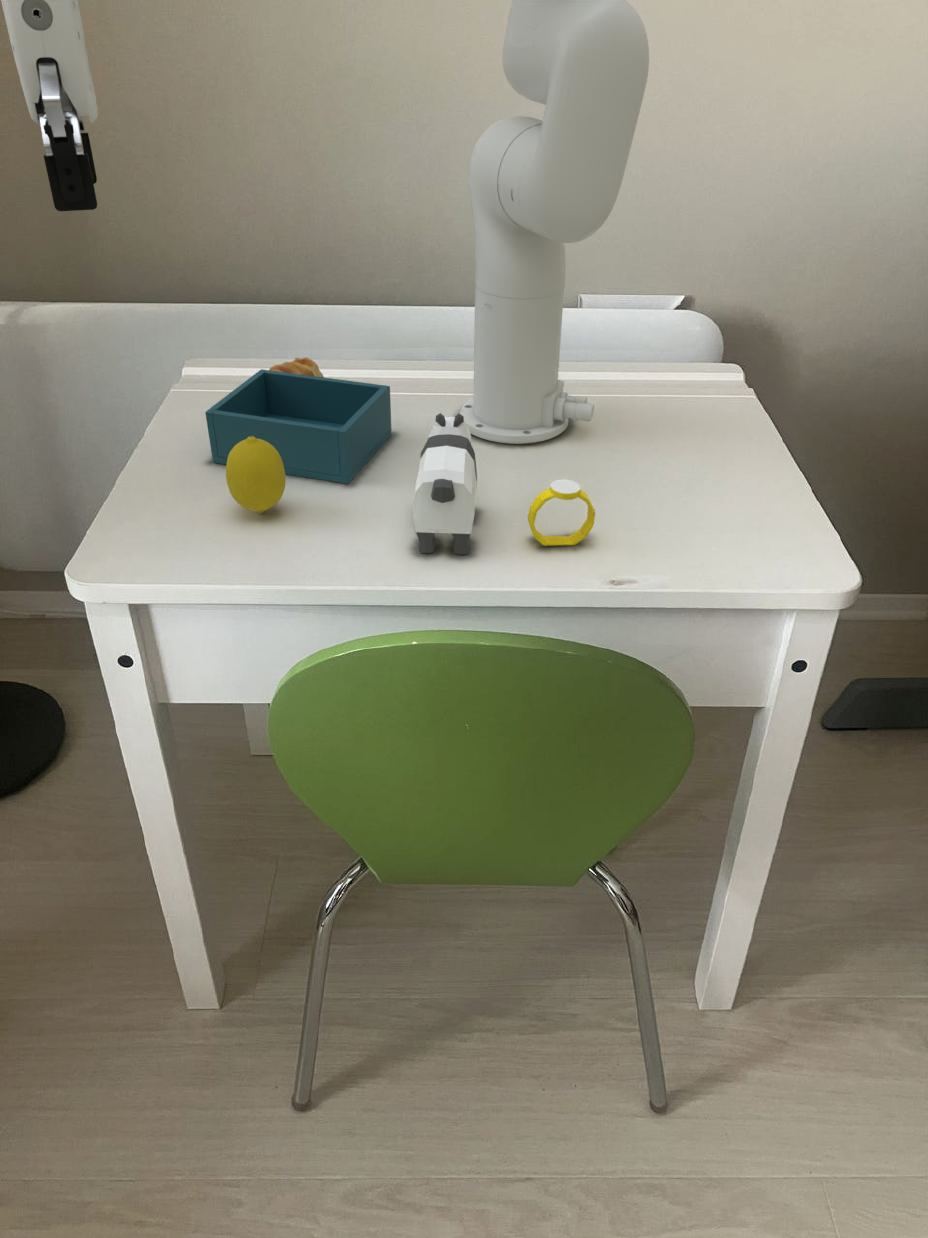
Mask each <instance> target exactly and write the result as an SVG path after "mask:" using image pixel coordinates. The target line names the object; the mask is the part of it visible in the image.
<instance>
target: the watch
mask: <svg viewBox="0 0 928 1238" xmlns="http://www.w3.org/2000/svg"><path fill="white" fill-rule="evenodd" d="M554 498H555V499H559V500H561V501H562V500H563V501H571V500H575V499H578V498H579V499H580V500H581V501H583V502H585V504H586V505H587V514H586V519H585V520H584V523H582V525H581V527H580V528H579V529H578V530H576V531H574V532H573V533H572V534H570V535H543V534H542V533H540V532H539V531H538V530H537V529H536V526H535V522H536V518H537V514H538V512H539V511H540V509H541V508H542V507H543V506H544V505H545V503H546V502H548V501H550V500H552V499H554ZM530 504H531V505H530V506H529V509H528V514H527V521H528V525H529V527H530V530H531V531H530V532H531V533H532V536H533V537H534V539H535V540H536V541H538V542H539V543H540V544H541V545H542V546H544V547H547V546H550V547H551V546H554V547H555V546H576V545H578V543H580V542H582V541H583V540H585V539H586V538H587V537H588V536H589V534H590V532H591V531H592V529H593V528H594V525H595V520H596V509H595V508H594V506H593V504H592V502H591V499H590V498H589V496H588V494H587V493H586V492H585V491H583V490H582V488H581V485H580V484H579V483H577V482H576V481H574V480H572V479H571V480H570V479H565V478H564V479H563V478H562V479H556V480H553V481H552V482H550V484H549V488H546V489H544V490H543V491H541V492H540V493H539V494H538V495H537V496H536V497H535V498H534V500H533V501H532V502H531V503H530Z"/></svg>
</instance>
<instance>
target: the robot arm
mask: <svg viewBox="0 0 928 1238" xmlns="http://www.w3.org/2000/svg"><path fill="white" fill-rule="evenodd" d="M0 3H1V6H2V7H1V8H2V11H3V15H4V20H5V24H6V28H7V33H8V38H9V42H10V46H11V51H12V54H13V58H14V63H15V66H16V70H17V74H18V78H19V81H20V85H21V88H22V89H21V90H22V92H23V95H24V96H23V97H24V98H25V103H26V106H27V110H28V113H29V116H30V119H31V120H32V121H33V122H34V123H36V124H38V125H40V131H41V137H42V143H43V149H44V152H45V154H43V159H44V160H43V161H44V164H45V169H46V174H47V178H48V183H49V187H50V192H51V197H52V201H53V205H54V206H53V207H54V209H55V210H56V211H58V212H75V211H90V210H91V211H93V210H96V209H97V208H98V200H97V194H96V190H95V184H97V181H98V176H97V172H96V168H95V167H96V166H95V162H94V155H93V151H92V145H91V141H90V135H89V132H86V129H85V123H84V118H83V117H87V118H88V122H89V124H94V123H95V121H97V119H98V117H99V110H98V102H97V96H96V92H95V85H94V82H93V81H94V80H93V75H92V69H91V65H90V64H91V63H90V58H89V53H88V48H87V41H86V36H85V31H84V25H83V21H82V17H81V16H82V15H81V12H80V6H79V1H78V0H0ZM502 67H503V72H504V76H505V78H506V81H507V82H508V84H509V86H510V87H511V88H512V89H513V90H514V91H515V92H516V93H517V94H518V95H520V96H522V97H523V98H525V99H527V100H529V101H532V102H535V103H537V104H541V105H544V106H545V107H544V113H543V118H542V119H538V118H535V117H531V116H525V115H524V116H523V115H519V116H518V115H517V116H509V117H506V118H502V119H500V120H498V121H496V122H494V123H493V124H491V125H490V126H489V127H487V129H486V130H485V131H484V132H483V133H482V134H481V135H480V136H479V138H478V140H477V141H476V143H475V145H474V148H473V150H472V153H471V157H470V160H469V167H468V190H469V198H470V206H471V214H472V221H473V227H474V229H473V231H474V242H475V243H474V245H475V247H474V248H475V283H474V326H473V327H474V332H473V333H474V334H473V337H474V338H473V388H472V389H473V390H472V392H473V394H472V395H473V396H472V398H471V399H469V400H467V401H466V402H465V403H464V404H463V405H462V406H461V408H460V409H459V414H461V415H462V416H464V421H465V423H466V425H467V427H468V428H469V430H470V434H471V435H473V436H475V437H477V438H480V439H483V440H487V441H490V442H494V443H503V444H510V445H511V444H513V445H514V444H515V445H517V444H518V445H521V444H535V443H541V442H544V441H547V440H550V439H553V438H555V437H558V436H559V435H560V434H562V433H564V431H566V429H568V425H569V419H573V420H576V421H581V422H589V423H592V421H593V419H594V413H595V404H593V403H588V397H587V396H580V395H575V396H574V395H569V394H568V392H565V391H564V388H565V381H564V380H559V371H560V370H559V368H560V353H561V341H562V340H561V339H562V325H563V310H564V296H565V284H566V267H567V266H566V246H565V244H574V243H579V242H582V241H584V240H586V239H588V238H590V237H591V236H592V235H594V234H596V232H597V231H599V230H600V228H601V227H602V226H603V225H604V224H605V222H606V221H607V220H608V218H609V216H610V215H611V212H612V211H613V209H614V206H615V204H616V201H617V199H618V196H619V193H620V190H621V187H622V184H623V183H622V182H623V180H624V176H625V171H626V167H627V164H628V161H629V156H630V151H631V147H632V145H633V139H634V135H635V131H636V128H637V124H638V120H639V116H640V113H641V107H642V104H643V100H644V96H645V92H646V88H647V87H646V86H647V82H648V76H649V70H650V69H649V67H650V47H649V40H648V35H647V30H646V27H645V24H644V22H643V19H642V18H641V16H640V14H639V13H638V11H637V10H636V9H635V7H634V6H633V5H632V4H631V3H630V2H628V1H627V0H511V2H510V7H509V13H508V18H507V23H506V29H505V35H504V40H503V47H502Z"/></svg>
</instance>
